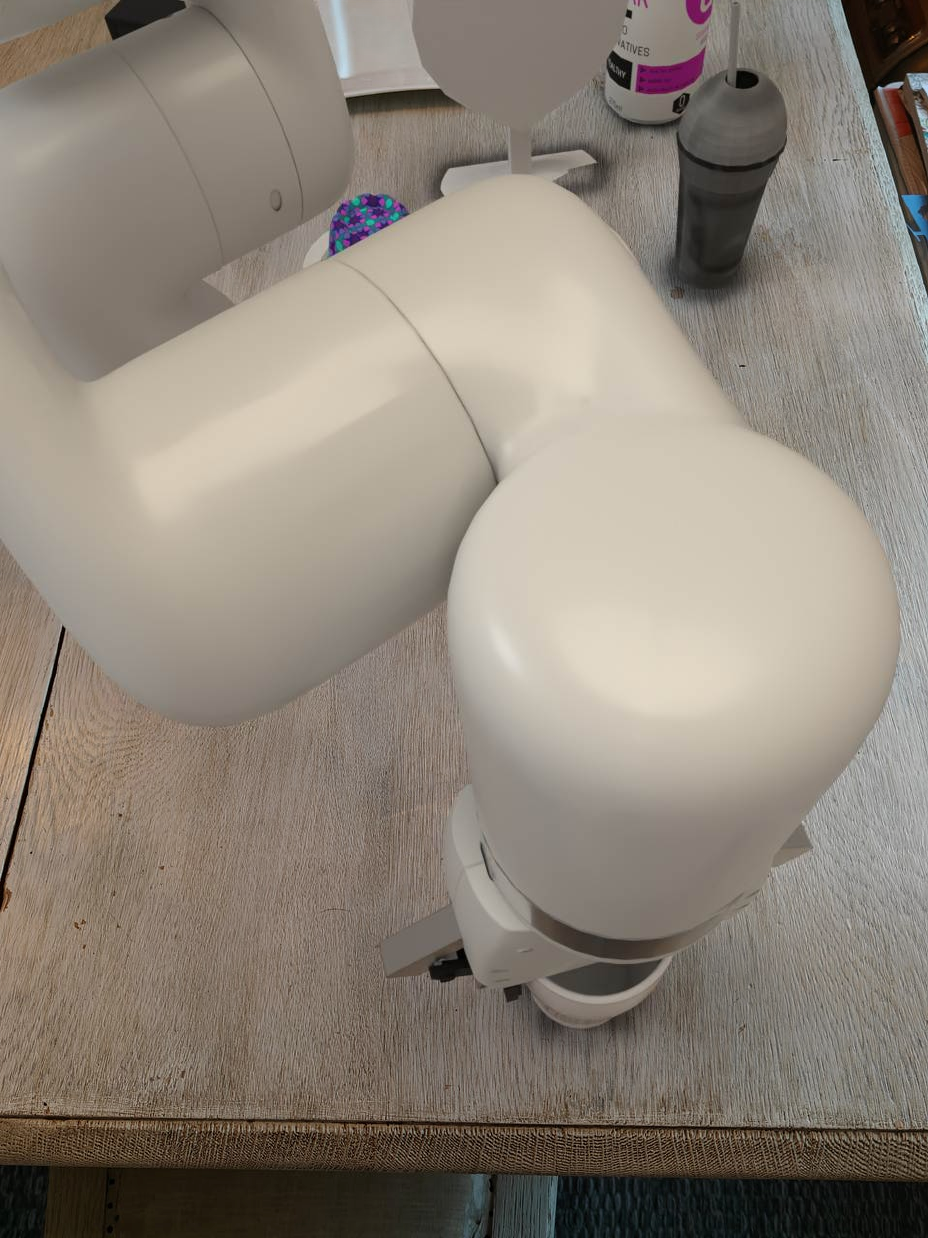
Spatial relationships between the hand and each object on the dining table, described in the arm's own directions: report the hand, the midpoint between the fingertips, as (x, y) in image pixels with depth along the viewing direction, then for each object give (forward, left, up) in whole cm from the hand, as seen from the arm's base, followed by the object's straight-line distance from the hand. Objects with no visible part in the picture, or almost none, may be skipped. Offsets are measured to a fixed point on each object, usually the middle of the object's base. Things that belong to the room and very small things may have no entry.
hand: (587, 937), depth 41 cm
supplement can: (+30, +68, -10) cm, 75 cm away
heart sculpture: (+16, +62, -10) cm, 65 cm away
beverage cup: (+26, +46, -10) cm, 54 cm away
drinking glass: (0, 0, -10) cm, 10 cm away
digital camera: (-9, +86, -10) cm, 87 cm away
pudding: (+2, +55, -10) cm, 56 cm away
